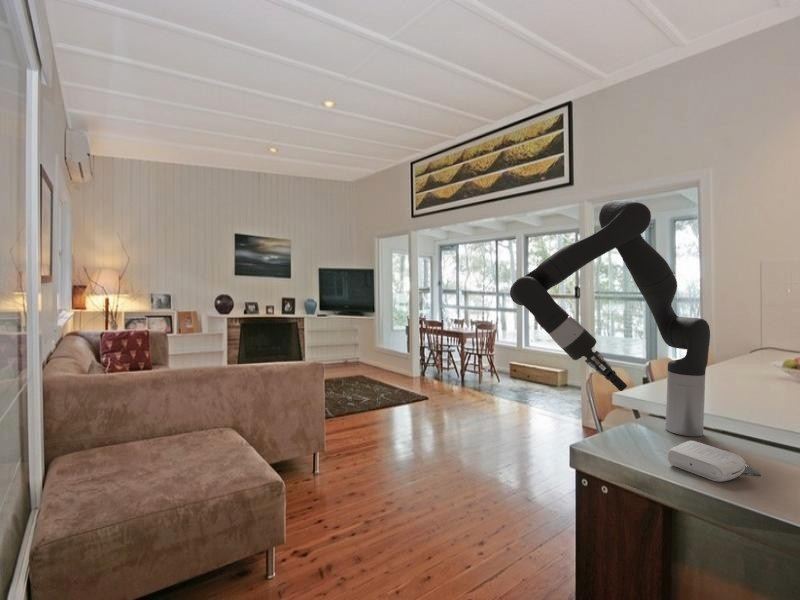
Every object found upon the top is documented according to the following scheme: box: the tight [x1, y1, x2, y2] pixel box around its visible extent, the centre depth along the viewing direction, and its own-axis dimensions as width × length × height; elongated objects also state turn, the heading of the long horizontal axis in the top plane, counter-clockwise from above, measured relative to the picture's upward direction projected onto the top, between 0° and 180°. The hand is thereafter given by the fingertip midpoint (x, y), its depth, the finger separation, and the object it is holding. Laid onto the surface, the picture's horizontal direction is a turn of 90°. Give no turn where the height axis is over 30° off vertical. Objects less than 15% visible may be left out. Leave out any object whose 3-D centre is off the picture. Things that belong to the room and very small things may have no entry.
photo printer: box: [667, 440, 746, 482], centre depth 99 cm, size 10×4×12 cm
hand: (623, 388), depth 109 cm, fingers closed
